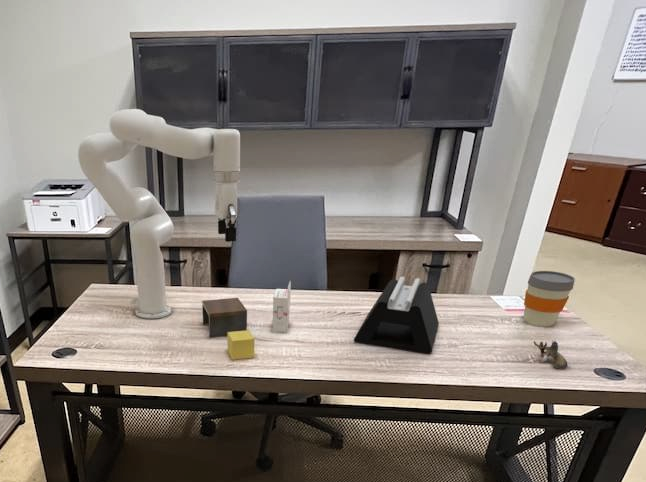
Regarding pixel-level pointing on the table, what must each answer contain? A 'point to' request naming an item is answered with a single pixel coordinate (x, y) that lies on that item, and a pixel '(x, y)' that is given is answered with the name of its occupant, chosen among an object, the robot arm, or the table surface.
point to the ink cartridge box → (281, 309)
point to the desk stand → (224, 316)
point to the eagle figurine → (552, 354)
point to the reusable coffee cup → (546, 297)
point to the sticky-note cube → (240, 344)
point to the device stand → (401, 318)
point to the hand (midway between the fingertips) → (226, 237)
